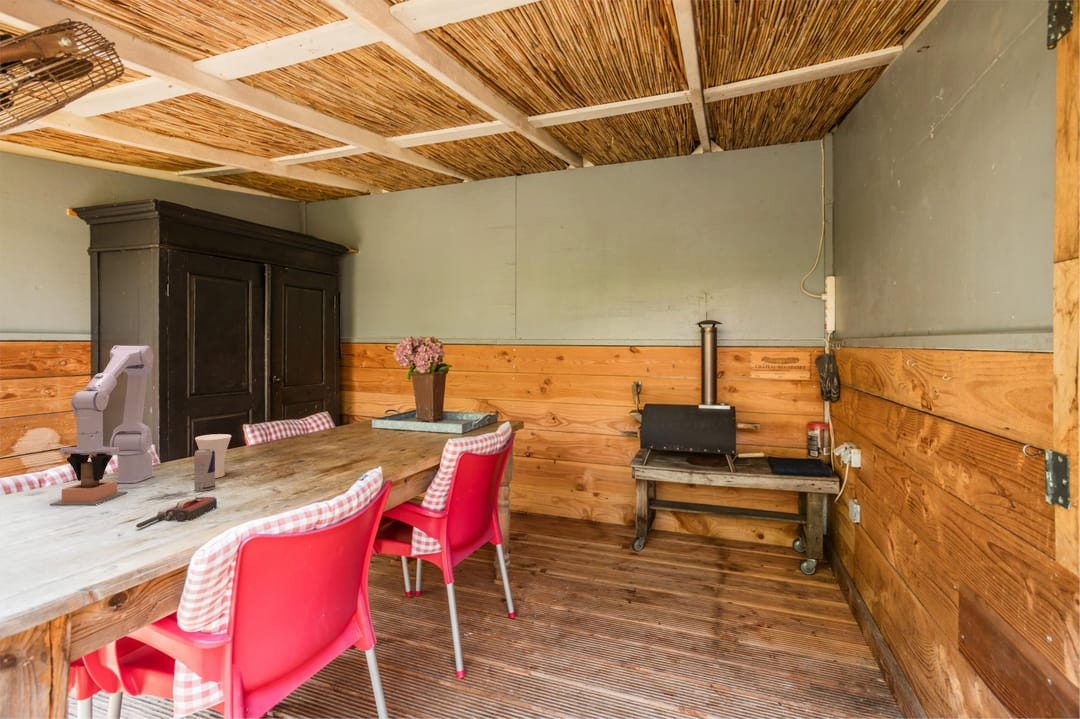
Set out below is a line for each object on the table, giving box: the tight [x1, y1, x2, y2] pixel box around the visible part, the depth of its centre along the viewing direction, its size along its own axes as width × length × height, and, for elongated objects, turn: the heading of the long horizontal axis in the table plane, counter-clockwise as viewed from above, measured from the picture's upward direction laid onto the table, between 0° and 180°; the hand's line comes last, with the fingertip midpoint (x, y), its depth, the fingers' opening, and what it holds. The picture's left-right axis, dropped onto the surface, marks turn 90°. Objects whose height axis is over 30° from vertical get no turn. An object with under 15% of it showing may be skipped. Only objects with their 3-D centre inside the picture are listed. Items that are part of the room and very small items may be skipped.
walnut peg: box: [80, 460, 100, 488], centre depth 149 cm, size 4×4×8 cm
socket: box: [49, 480, 128, 506], centre depth 149 cm, size 12×12×4 cm
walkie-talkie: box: [135, 496, 218, 528], centre depth 135 cm, size 9×4×20 cm
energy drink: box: [193, 449, 216, 492], centre depth 161 cm, size 5×5×12 cm
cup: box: [194, 433, 232, 479], centre depth 176 cm, size 10×10×14 cm
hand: (90, 479), depth 149 cm, fingers closed on walnut peg, 4 cm apart
